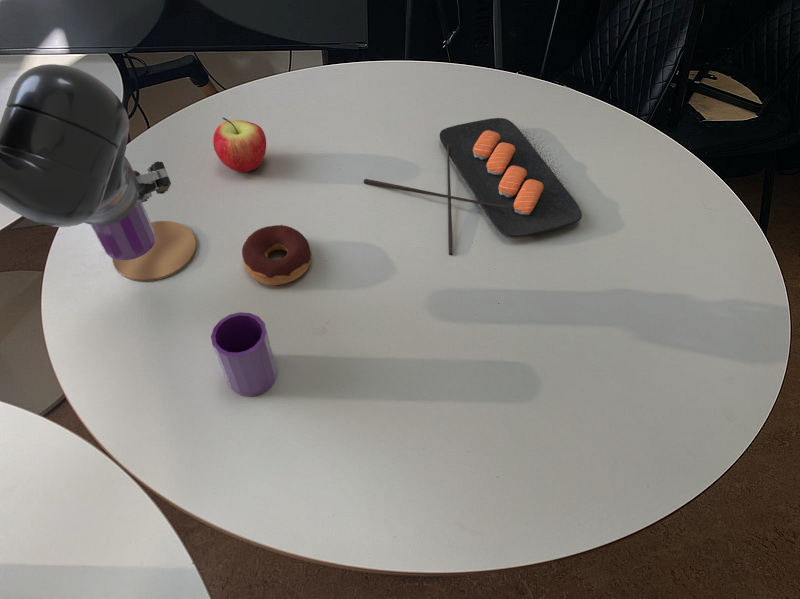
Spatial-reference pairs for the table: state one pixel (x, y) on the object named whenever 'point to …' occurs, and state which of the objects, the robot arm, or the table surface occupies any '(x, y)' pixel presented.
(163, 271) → the coaster
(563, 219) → the sushi plate
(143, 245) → the cup
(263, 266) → the donut
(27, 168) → the robot arm
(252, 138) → the apple
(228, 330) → the cup
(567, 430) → the table surface
